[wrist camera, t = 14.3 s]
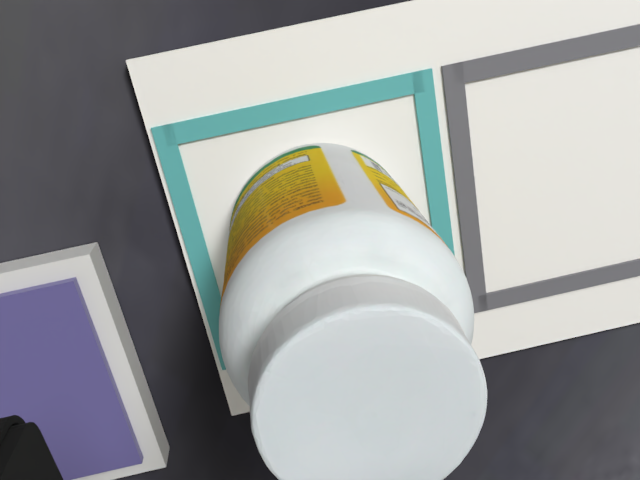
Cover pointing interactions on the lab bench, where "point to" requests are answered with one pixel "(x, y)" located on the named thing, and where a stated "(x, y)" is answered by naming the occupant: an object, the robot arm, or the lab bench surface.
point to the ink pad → (76, 366)
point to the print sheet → (431, 146)
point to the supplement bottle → (347, 324)
